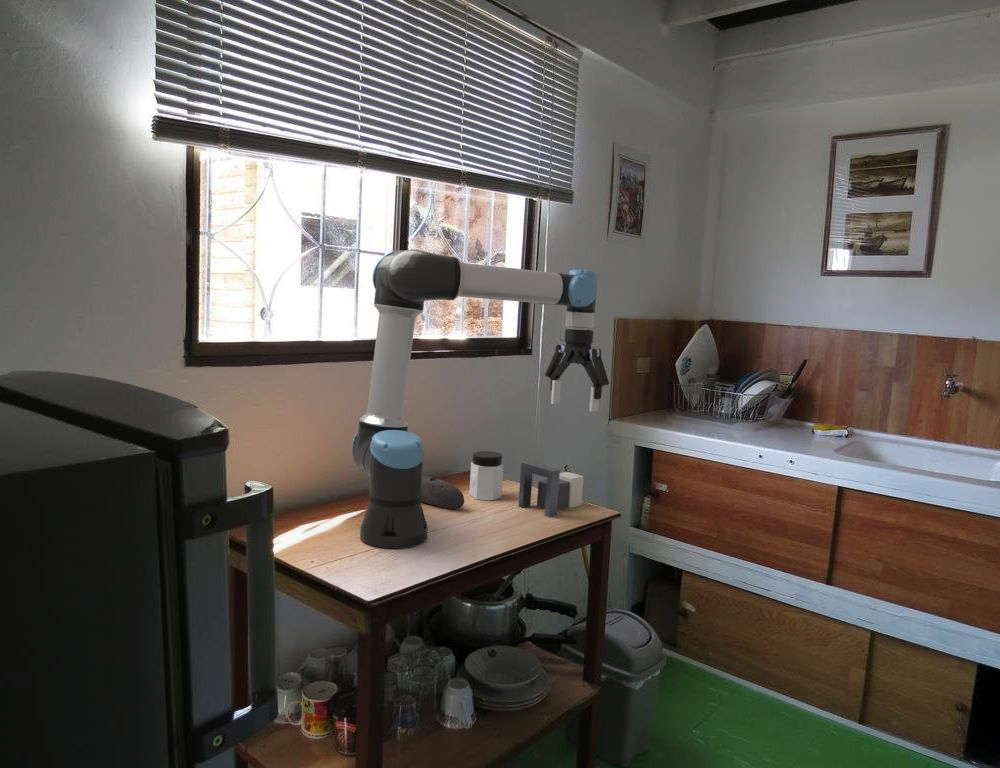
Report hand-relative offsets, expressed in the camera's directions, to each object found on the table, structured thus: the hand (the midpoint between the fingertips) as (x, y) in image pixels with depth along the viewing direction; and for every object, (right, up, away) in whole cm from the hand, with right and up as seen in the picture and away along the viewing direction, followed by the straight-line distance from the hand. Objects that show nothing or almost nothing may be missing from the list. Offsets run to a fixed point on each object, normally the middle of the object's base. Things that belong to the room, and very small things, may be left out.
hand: (574, 407), depth 191 cm
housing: (-10, -27, -5) cm, 29 cm away
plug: (-4, -27, +1) cm, 27 cm away
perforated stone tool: (-36, -26, -5) cm, 44 cm away
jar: (-24, -25, +6) cm, 35 cm away
